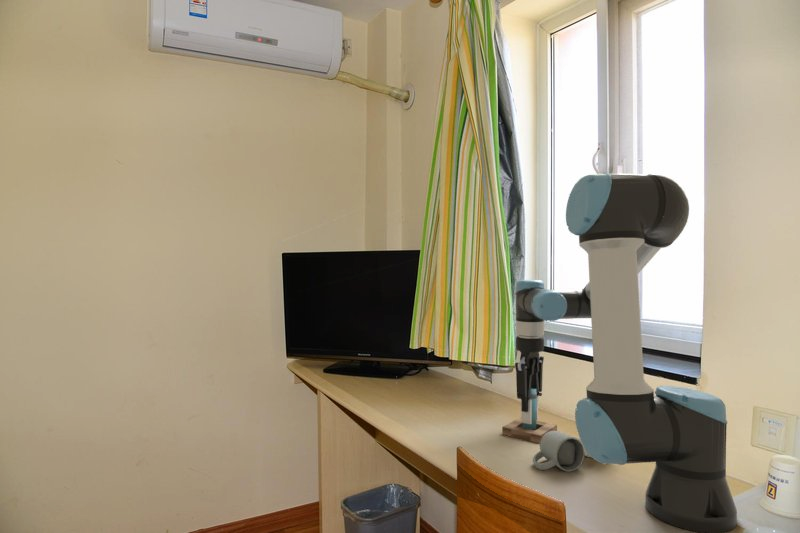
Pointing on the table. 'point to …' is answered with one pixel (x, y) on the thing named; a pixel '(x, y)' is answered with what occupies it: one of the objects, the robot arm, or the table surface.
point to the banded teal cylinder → (532, 397)
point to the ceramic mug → (559, 452)
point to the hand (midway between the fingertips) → (529, 420)
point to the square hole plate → (528, 430)
